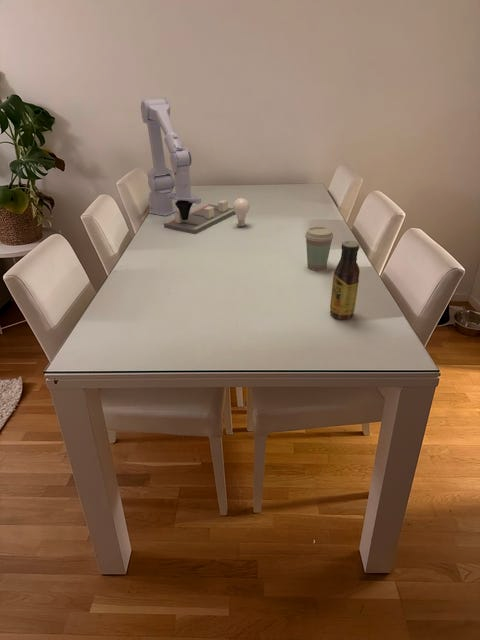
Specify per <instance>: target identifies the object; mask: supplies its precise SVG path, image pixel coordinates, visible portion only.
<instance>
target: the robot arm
mask: <svg viewBox="0 0 480 640" xmlns="http://www.w3.org/2000/svg"><path fill="white" fill-rule="evenodd" d="M140 103H141V104H140V111H141V119H142V122H143V124H146V126H147V130H148V140H149V144H150V151H151V157H152V164H153V167H152V168H151V170H149V172H148V174H147V177H148V179H147V184H148V188H149V190H150V191H149V193H148V205H149V211H148V213H149V214H154V215H158V216H164V217H166V216H169V215H171V214H174V213H175V212H177V211H180V214H181V216H182V219H183V220H187V219H188V217H189V213H190V212H191V211H190V210H191V208H192V205H193V204H196V205H199V204H201V202H202V201H201V200H202V199H201V197H198V196H195V195H193V194H192V188H191V176H190V175H191V174H190V172H191V171H190V167H191V165H192V160H193V159H192V155H191V152H190V150H189V149H188V148H187V147H185V146H184V144H183V142H182V139H181V137H180V135H179V133H178V132H175V130H174V127H173V123H172V121H171V117H170V116H171V105H170V101H169V100H168V99H167V98H166V97H163V98H153V99H152V98H150V99H142V101H141V102H140ZM162 132H163V134H164V136H165V137H164V143H163V137H162ZM164 144H165V145H166V148H167V150H168V152H169V155H170V157H169V161H170V165H171V168H172V169H170V168H168V167H167V165H166V159H165V152H164V151H165V150H164ZM174 189H175V193H174V192H173V190H174ZM173 200H175V201H176V202H174V204H175V206H176V207H177V209H174V207H173Z"/></svg>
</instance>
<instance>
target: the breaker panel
mask: <svg viewBox="0 0 480 640" xmlns="http://www.w3.org/2000/svg"><path fill="white" fill-rule="evenodd" d="M208 206H211V207H214V217H212V218H210V219H208V218H204V208H206V207H208ZM234 215H236V213H235V212H234V210H233V207H228V210H227V211H224V212H220V211H218V205H217V204H215V205H214V204H211V203H208V204H206V205H204V206H202V207H201V206H200V208H197V209H195V210H192V211H190V212H189V217H188V219H187V220H186V221H184V222H182V223H176V222H175V218H174V219H172V220H169V221H167V222H165V223H163V225H164V226H163V227H164V228H165V229H170V230H174V231H179V232H183V233H188V234H192V235H196V234H199V233H200V232H202V231H204V230H206V229H208V228H210V227H213V226H214V225H216V224H218V223H221V222H222V221H224V220H226V219H228V218H230V217H232V216H234Z"/></svg>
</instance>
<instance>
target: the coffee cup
mask: <svg viewBox="0 0 480 640" xmlns="http://www.w3.org/2000/svg"><path fill="white" fill-rule="evenodd" d="M304 237H305V241H306V257H307V258H306V262H307V268H308V269H309V270H312V271H319V272H320V271H323V270H326V269H327V265H328V260H329V256H330V255H329V254H330V252H331V246H332V242H333V241H332V240H333V239H334V233H333V230H332V229H331V228H329V227H326V226H312V227H309V228H307V230H306V232H305V234H304Z"/></svg>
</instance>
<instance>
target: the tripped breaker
mask: <svg viewBox="0 0 480 640" xmlns="http://www.w3.org/2000/svg"><path fill="white" fill-rule="evenodd" d="M173 214H174V219H175V222H176V223H182V222H184V221H186V220H183V219H182V216H181V214H180V211H179V210H177V211H176V212H174V213H173Z"/></svg>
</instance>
